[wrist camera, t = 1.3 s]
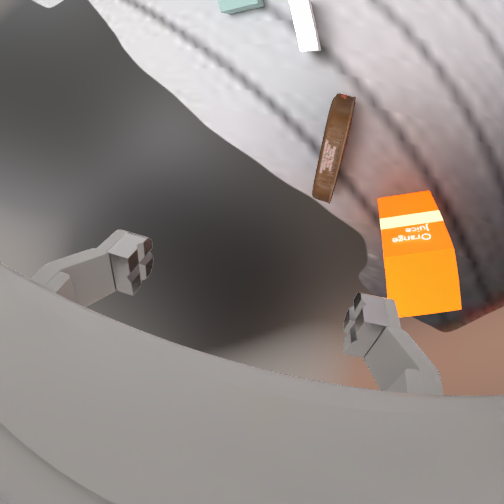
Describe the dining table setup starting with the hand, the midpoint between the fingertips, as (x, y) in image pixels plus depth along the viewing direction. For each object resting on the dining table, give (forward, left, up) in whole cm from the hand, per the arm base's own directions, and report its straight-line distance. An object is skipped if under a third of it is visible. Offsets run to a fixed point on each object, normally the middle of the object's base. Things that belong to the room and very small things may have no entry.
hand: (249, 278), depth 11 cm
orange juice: (-12, +17, -33) cm, 39 cm away
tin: (-1, +5, -33) cm, 33 cm away
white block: (0, -12, -33) cm, 35 cm away
